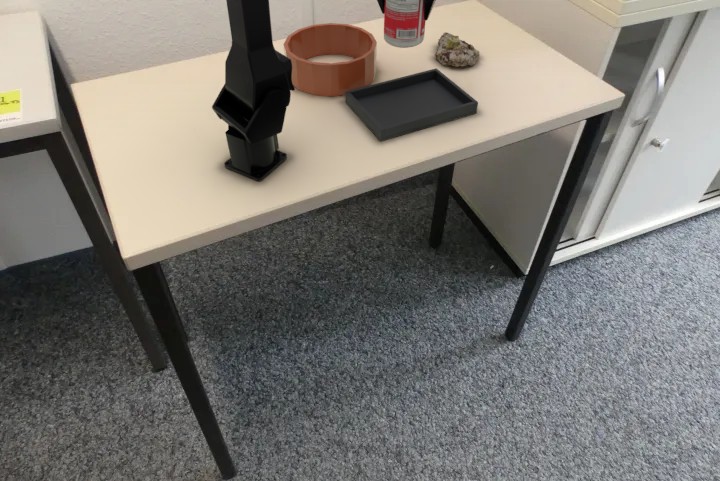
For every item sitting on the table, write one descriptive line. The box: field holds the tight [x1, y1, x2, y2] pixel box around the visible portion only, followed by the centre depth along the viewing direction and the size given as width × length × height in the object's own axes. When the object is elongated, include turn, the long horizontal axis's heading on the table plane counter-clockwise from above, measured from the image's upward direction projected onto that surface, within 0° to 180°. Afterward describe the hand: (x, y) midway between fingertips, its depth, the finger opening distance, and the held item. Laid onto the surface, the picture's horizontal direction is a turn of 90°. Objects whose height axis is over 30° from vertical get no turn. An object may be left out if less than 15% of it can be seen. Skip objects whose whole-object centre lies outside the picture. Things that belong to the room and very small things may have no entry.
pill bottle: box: [383, 0, 427, 49], centre depth 77 cm, size 6×6×11 cm
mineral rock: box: [434, 32, 481, 68], centre depth 96 cm, size 11×4×8 cm
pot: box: [283, 22, 378, 97], centre depth 90 cm, size 15×15×6 cm
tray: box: [344, 68, 479, 142], centre depth 84 cm, size 17×12×2 cm
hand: (405, 15), depth 78 cm, fingers closed on pill bottle, 6 cm apart
